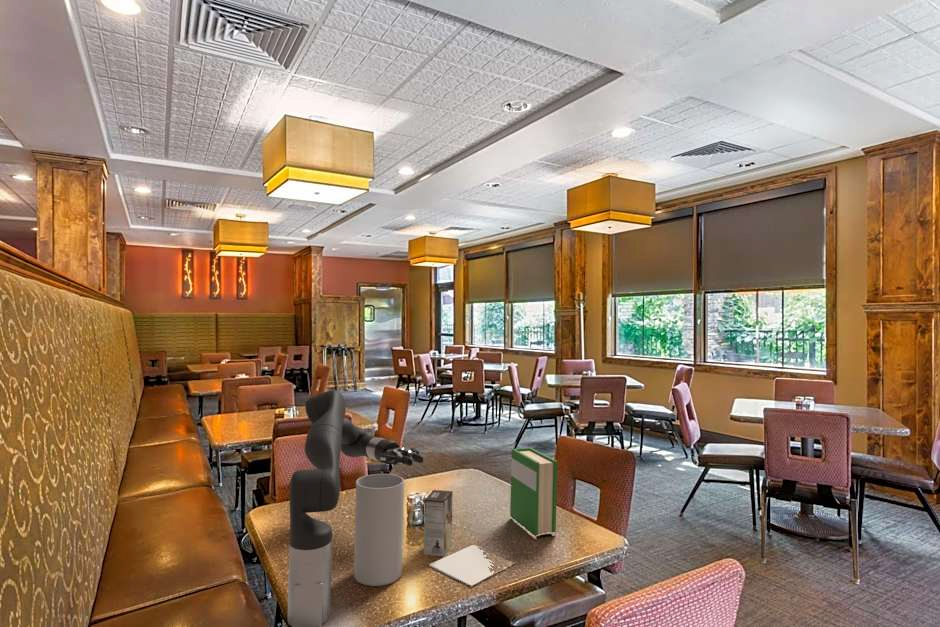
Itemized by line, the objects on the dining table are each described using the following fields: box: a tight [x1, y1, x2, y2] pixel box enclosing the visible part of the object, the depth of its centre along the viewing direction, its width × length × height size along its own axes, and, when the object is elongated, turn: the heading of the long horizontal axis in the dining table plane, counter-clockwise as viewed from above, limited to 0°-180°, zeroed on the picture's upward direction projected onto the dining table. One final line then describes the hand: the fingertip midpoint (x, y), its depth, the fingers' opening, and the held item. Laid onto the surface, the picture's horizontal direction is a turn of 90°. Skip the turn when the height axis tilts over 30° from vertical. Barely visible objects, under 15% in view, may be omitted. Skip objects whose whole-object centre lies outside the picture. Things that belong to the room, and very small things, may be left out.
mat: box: [428, 544, 500, 586], centre depth 145 cm, size 16×18×1 cm
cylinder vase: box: [353, 473, 405, 587], centre depth 138 cm, size 12×12×25 cm
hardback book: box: [509, 447, 558, 536], centre depth 172 cm, size 18×7×24 cm, turn 22°
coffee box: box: [423, 489, 454, 557], centre depth 155 cm, size 9×6×16 cm
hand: (416, 460), depth 162 cm, fingers open, 3 cm apart
